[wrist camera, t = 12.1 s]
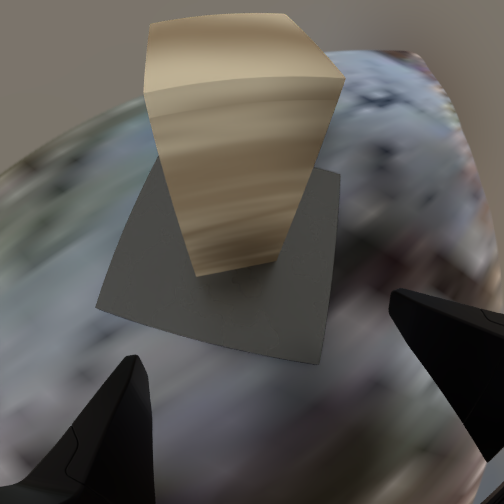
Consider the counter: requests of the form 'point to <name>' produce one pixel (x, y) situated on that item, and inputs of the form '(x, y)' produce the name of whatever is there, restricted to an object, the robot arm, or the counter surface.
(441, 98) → the counter surface
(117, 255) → the post plate
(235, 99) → the birch post
